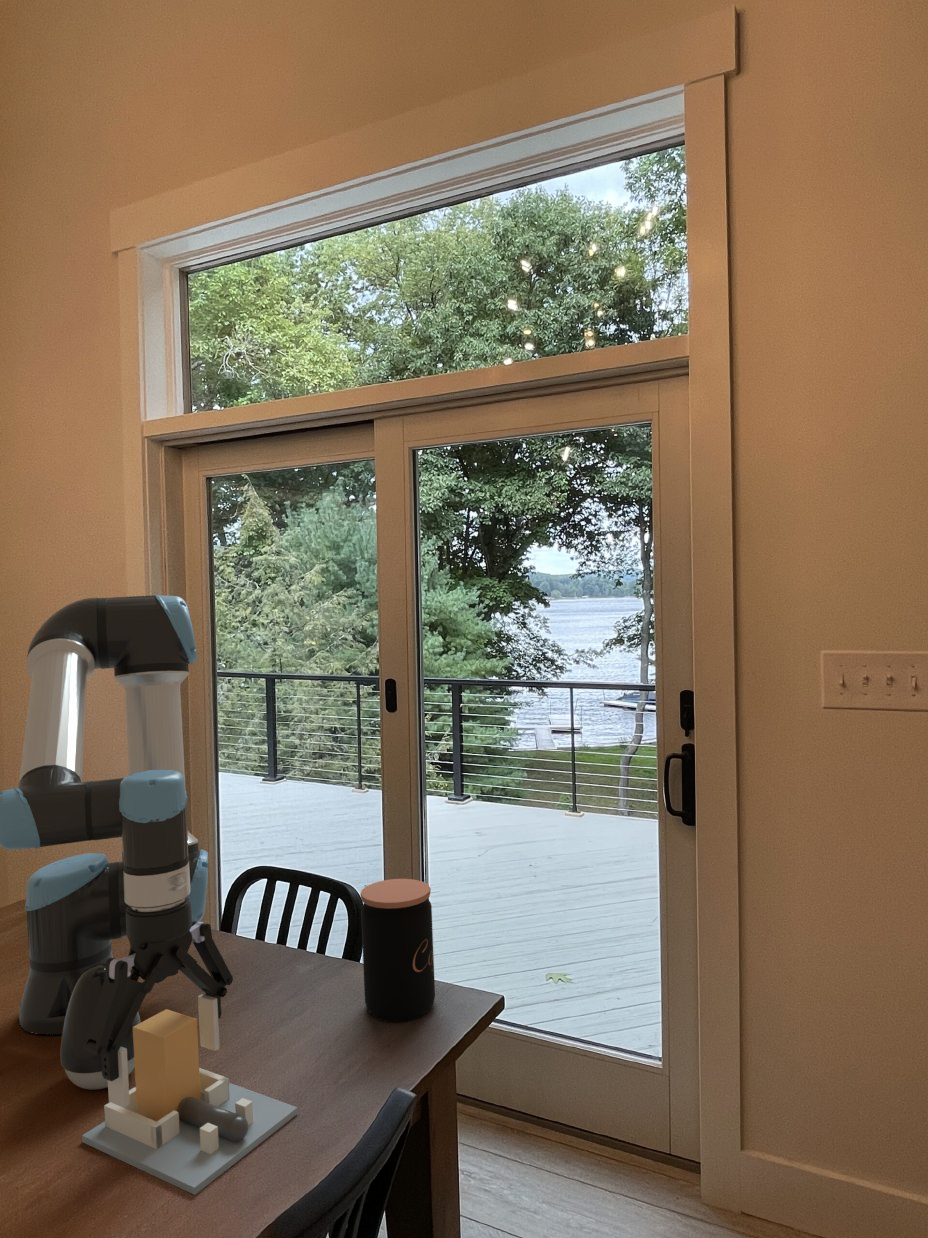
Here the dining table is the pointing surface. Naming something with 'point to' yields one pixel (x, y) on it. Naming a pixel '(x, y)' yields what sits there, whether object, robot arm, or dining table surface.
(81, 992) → the dark grey egg shape
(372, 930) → the coffee jar
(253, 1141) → the board
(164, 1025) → the plug
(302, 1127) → the dining table surface
